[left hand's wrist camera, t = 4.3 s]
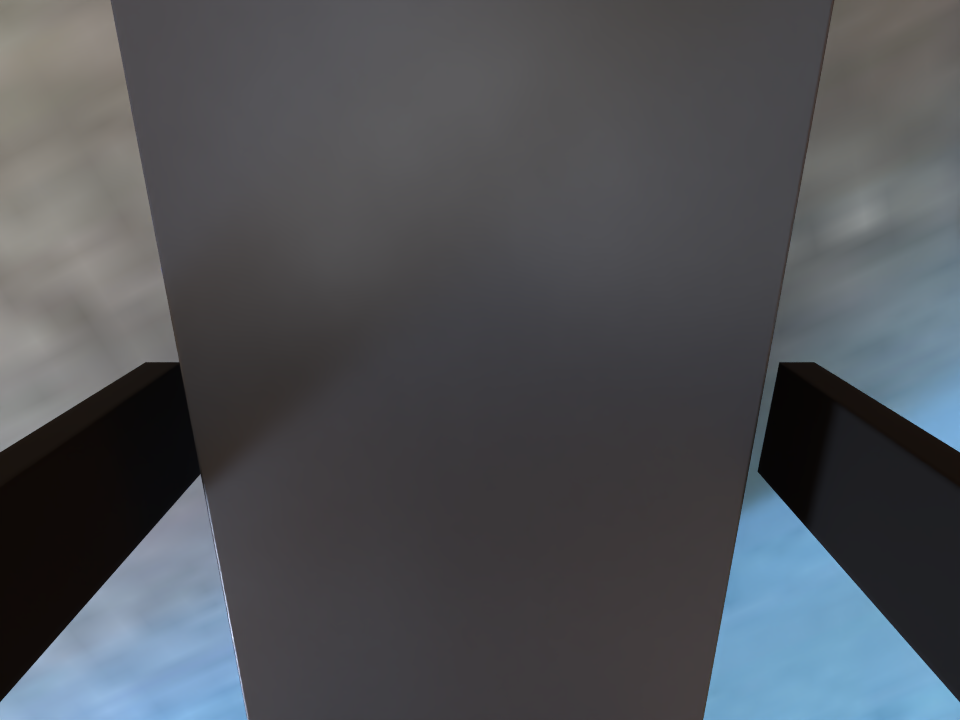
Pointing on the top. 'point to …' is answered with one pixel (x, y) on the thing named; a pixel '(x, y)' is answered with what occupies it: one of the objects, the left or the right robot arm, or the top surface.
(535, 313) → the slab
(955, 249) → the top surface
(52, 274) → the top surface
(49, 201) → the top surface
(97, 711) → the top surface
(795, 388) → the left robot arm
